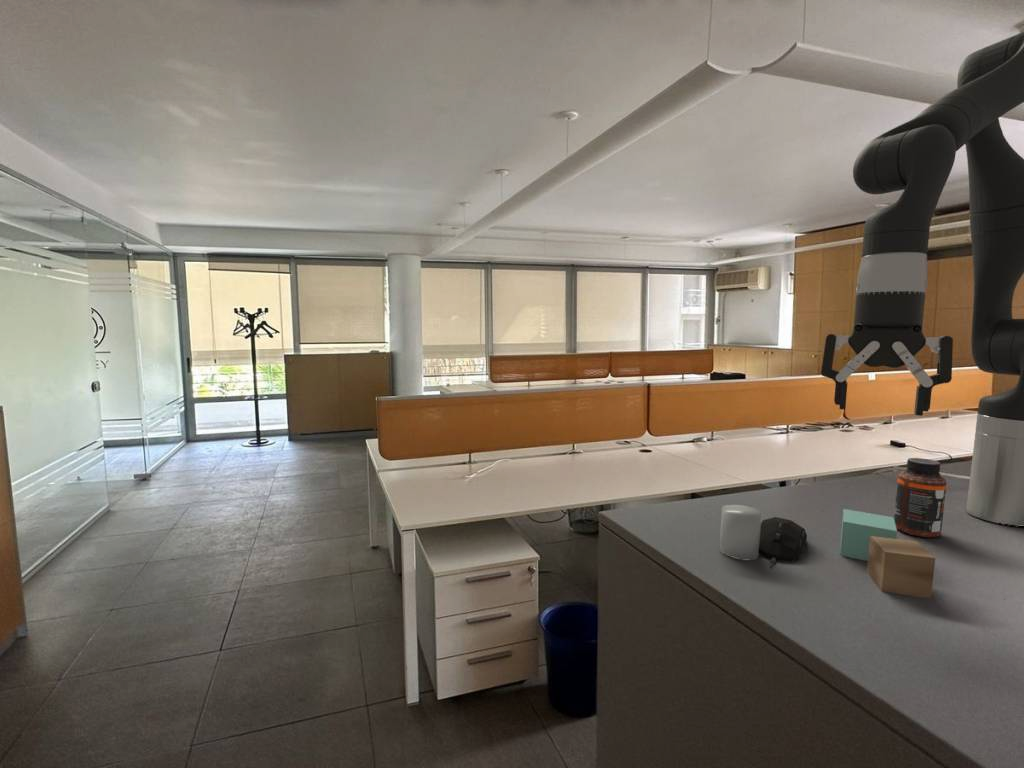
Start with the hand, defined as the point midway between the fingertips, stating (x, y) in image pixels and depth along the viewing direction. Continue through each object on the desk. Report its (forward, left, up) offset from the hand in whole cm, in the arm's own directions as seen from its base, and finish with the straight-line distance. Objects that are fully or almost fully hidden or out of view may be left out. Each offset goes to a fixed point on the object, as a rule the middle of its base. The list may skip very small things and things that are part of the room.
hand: (878, 411), depth 72 cm
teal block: (0, 0, -20) cm, 20 cm away
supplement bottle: (-14, +7, -20) cm, 26 cm away
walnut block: (+9, +3, -20) cm, 22 cm away
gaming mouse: (+6, -10, -21) cm, 24 cm away
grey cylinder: (+10, -15, -20) cm, 27 cm away
